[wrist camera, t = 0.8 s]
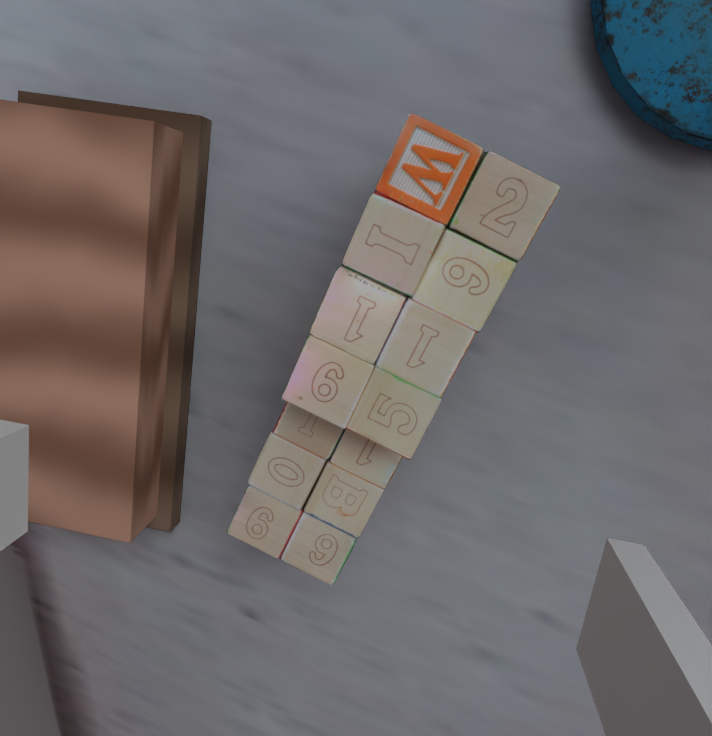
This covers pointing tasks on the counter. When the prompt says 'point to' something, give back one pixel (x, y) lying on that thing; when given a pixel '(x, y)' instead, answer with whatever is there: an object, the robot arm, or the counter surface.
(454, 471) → the counter surface
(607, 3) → the desk lamp
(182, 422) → the base brick
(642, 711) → the robot arm
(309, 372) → the stack of blocks
